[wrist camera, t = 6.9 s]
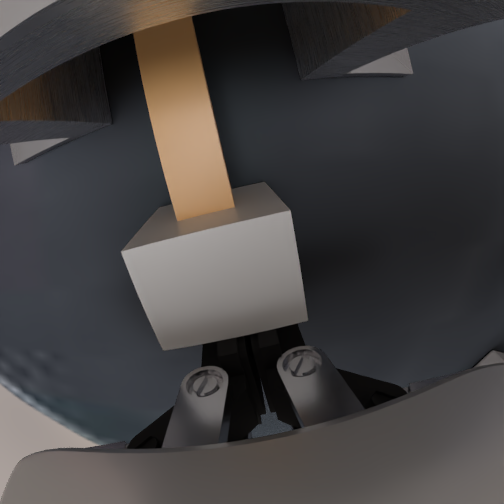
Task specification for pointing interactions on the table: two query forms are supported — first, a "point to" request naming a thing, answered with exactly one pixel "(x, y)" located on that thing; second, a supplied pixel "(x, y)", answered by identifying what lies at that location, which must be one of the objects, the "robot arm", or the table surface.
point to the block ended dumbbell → (206, 216)
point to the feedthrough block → (176, 7)
